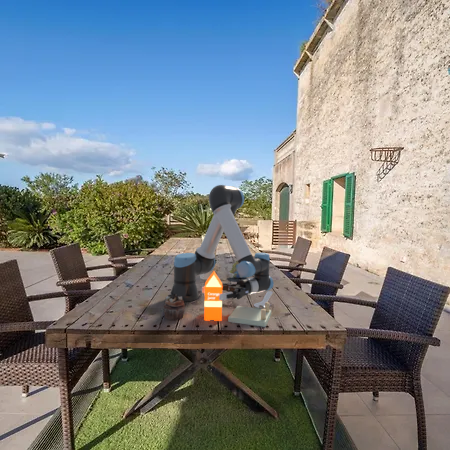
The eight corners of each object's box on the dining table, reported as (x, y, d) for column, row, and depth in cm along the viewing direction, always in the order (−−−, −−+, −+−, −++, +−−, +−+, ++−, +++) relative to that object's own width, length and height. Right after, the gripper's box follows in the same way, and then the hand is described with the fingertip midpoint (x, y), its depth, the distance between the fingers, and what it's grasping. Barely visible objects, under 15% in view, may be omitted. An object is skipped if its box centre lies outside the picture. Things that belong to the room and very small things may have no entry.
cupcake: (189, 317, 129) (190, 294, 129) (172, 322, 122) (172, 299, 122) (175, 311, 136) (176, 290, 135) (158, 316, 129) (158, 294, 128)
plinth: (228, 321, 125) (228, 307, 125) (237, 309, 140) (238, 297, 140) (265, 326, 120) (266, 312, 120) (271, 314, 135) (271, 301, 135)
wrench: (252, 308, 144) (252, 306, 144) (262, 291, 175) (262, 290, 175) (269, 310, 142) (269, 308, 142) (277, 293, 172) (277, 291, 172)
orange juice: (221, 313, 135) (222, 270, 134) (221, 320, 126) (223, 274, 125) (204, 313, 134) (205, 270, 133) (203, 320, 125) (204, 274, 125)
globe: (247, 258, 201) (248, 256, 216) (225, 264, 204) (229, 261, 218) (252, 277, 201) (253, 273, 215) (231, 282, 203) (233, 278, 218)
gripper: (265, 301, 131) (227, 309, 118) (230, 288, 151) (195, 295, 138) (265, 284, 131) (228, 291, 118) (230, 274, 151) (195, 279, 138)
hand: (210, 293), depth 128 cm, fingers open, 13 cm apart
